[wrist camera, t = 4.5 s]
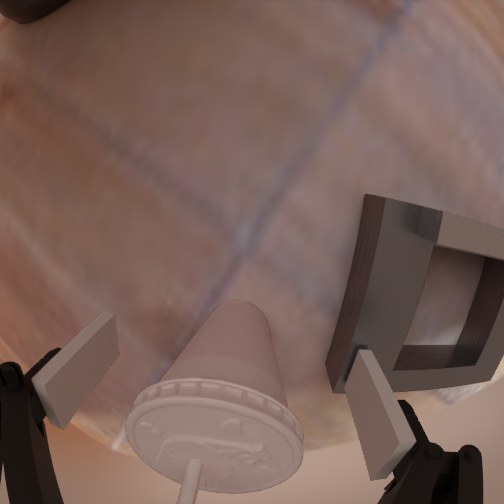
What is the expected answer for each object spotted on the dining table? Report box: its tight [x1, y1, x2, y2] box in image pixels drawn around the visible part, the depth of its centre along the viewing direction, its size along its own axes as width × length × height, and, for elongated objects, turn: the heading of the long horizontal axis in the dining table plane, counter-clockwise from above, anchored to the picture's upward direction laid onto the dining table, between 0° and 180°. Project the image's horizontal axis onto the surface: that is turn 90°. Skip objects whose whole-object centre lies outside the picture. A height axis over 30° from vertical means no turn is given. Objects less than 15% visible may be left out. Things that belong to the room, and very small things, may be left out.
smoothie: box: [125, 301, 304, 504], centre depth 10 cm, size 6×6×14 cm
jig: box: [325, 194, 504, 393], centre depth 13 cm, size 14×11×5 cm
